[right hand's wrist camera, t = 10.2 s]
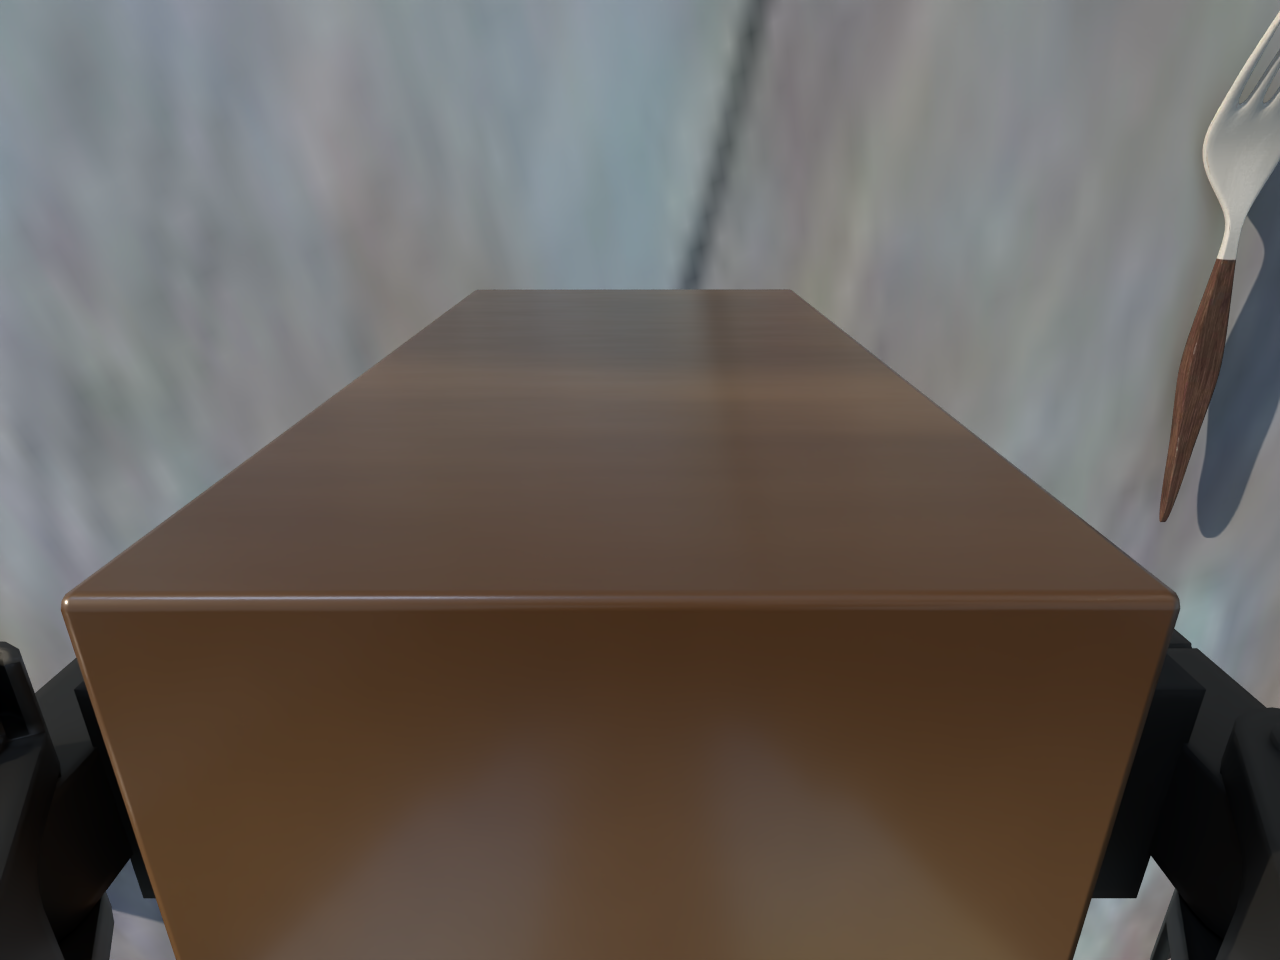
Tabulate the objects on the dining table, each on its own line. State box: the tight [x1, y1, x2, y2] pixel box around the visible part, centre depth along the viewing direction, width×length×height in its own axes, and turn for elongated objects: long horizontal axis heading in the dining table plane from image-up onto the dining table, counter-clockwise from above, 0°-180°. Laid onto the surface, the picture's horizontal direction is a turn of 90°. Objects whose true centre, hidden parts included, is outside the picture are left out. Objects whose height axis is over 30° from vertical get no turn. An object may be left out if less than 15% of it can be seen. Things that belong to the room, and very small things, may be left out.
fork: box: [1160, 12, 1280, 522], centre depth 24 cm, size 3×16×2 cm, turn 2°
